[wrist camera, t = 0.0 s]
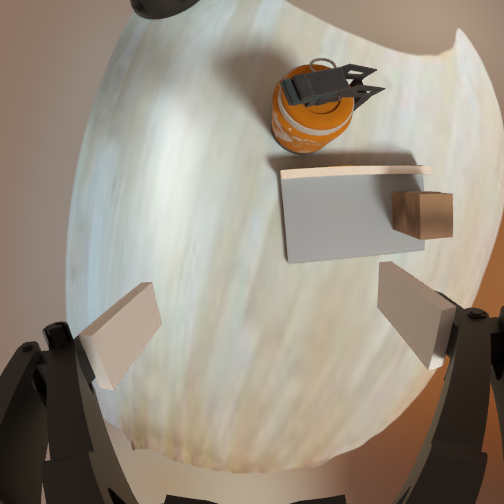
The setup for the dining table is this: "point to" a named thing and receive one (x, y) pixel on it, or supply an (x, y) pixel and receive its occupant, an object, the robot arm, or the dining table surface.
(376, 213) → the shelf board
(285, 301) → the dining table surface
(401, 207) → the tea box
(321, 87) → the canister
